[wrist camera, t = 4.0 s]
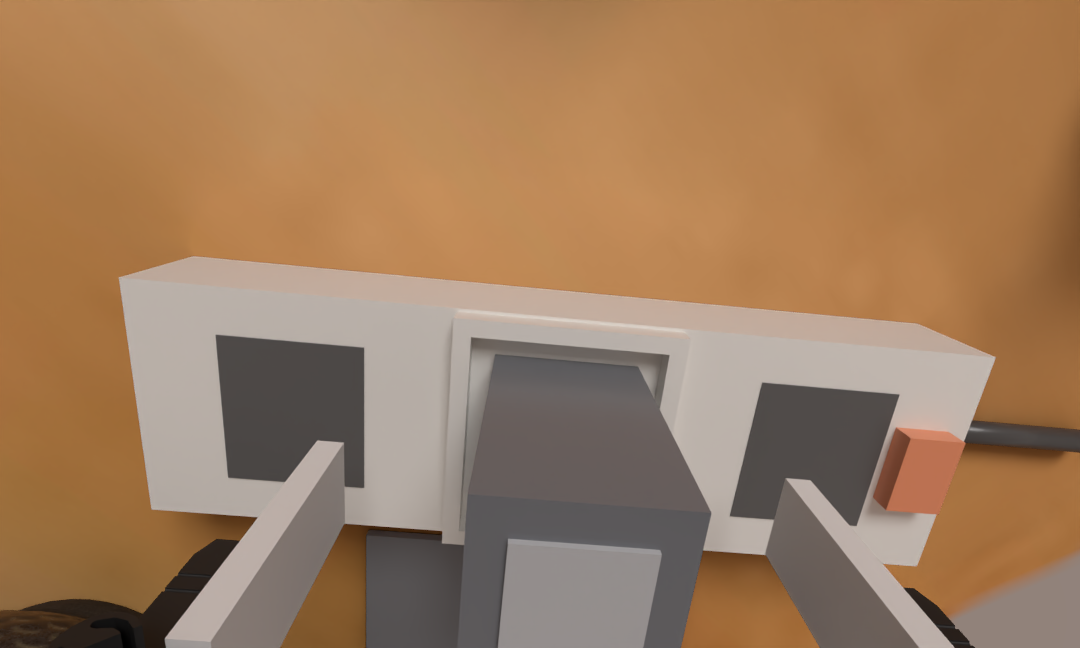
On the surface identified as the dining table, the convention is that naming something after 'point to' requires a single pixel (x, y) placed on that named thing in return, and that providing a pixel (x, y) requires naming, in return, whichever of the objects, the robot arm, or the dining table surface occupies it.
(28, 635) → the planter
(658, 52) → the dining table surface
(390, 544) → the mat
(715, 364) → the strip
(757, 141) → the dining table surface
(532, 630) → the charger
